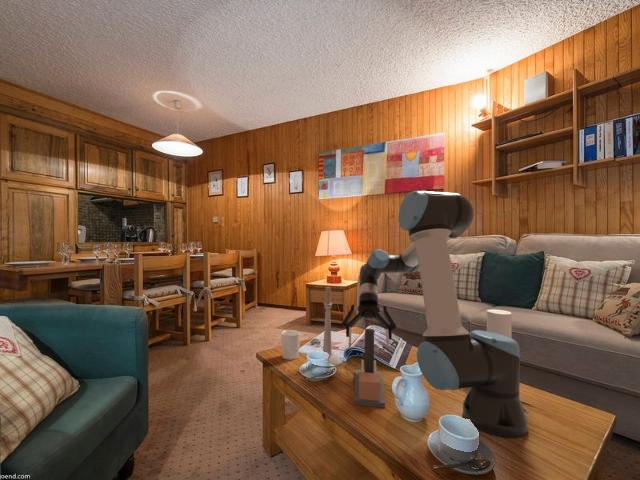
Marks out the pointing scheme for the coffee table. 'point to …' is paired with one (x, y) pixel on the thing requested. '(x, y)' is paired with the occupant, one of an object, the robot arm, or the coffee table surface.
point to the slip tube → (369, 351)
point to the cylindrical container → (499, 322)
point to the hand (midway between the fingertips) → (368, 346)
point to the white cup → (290, 344)
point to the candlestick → (329, 331)
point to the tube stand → (369, 388)
